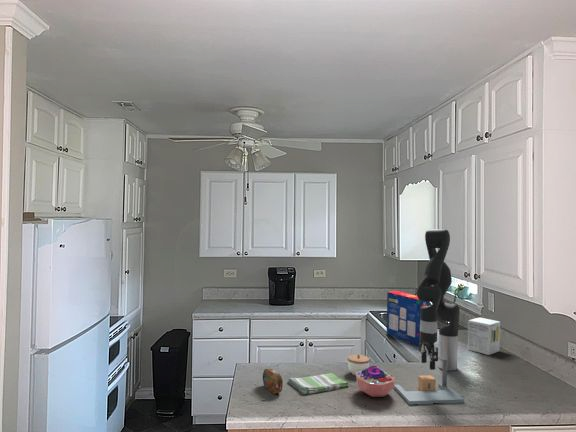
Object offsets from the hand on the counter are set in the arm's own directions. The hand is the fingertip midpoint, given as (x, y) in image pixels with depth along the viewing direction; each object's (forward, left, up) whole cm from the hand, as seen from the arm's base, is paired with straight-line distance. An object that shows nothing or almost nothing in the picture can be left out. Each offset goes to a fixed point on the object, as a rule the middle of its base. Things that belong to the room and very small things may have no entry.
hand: (428, 366), depth 204 cm
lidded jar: (-23, -25, -11) cm, 36 cm away
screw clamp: (+5, -2, -11) cm, 12 cm away
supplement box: (-55, +60, -11) cm, 82 cm away
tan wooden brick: (0, 0, -11) cm, 11 cm away
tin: (-6, -69, -11) cm, 71 cm away
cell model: (+2, -25, -11) cm, 28 cm away
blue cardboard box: (-80, +23, -11) cm, 84 cm away
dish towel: (-11, -48, -12) cm, 50 cm away
